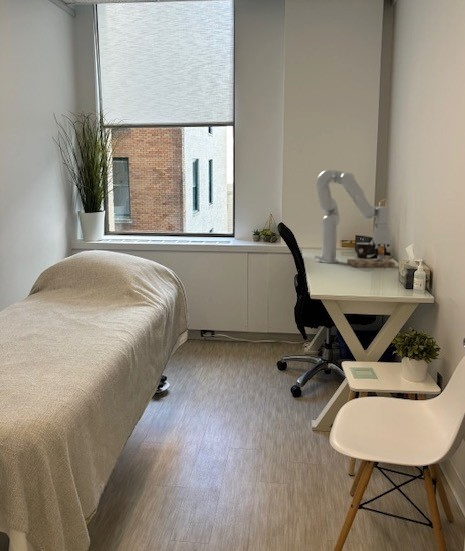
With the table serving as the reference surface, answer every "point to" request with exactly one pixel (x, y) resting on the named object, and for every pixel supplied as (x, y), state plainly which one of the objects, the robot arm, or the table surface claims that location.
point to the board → (370, 263)
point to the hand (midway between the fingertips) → (380, 254)
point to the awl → (380, 253)
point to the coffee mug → (363, 250)
